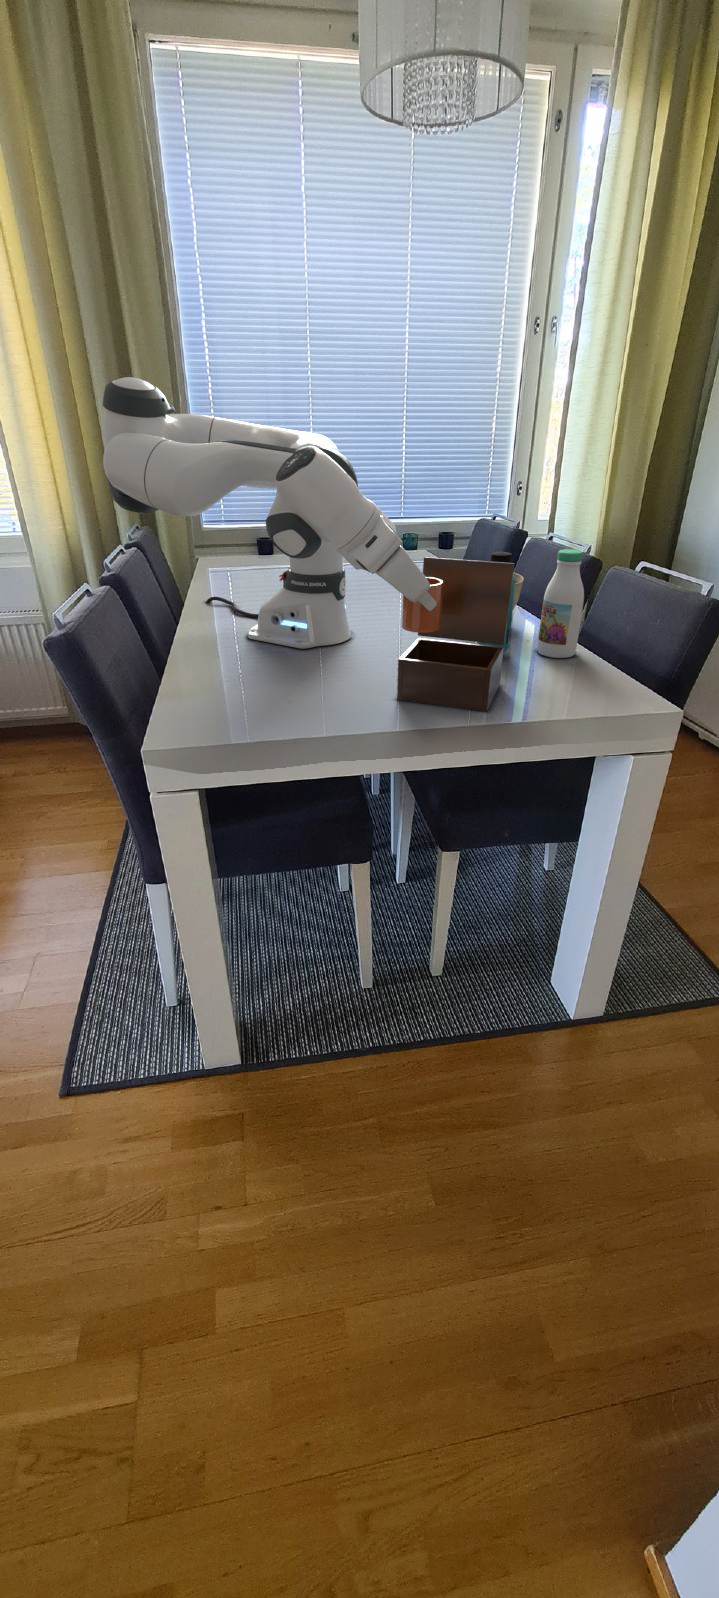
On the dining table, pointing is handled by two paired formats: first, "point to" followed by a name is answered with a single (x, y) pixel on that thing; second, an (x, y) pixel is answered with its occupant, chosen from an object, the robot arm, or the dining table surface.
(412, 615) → the cup
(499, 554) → the beverage bottle
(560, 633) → the milk bottle
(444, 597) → the lid
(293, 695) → the dining table surface
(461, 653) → the box
